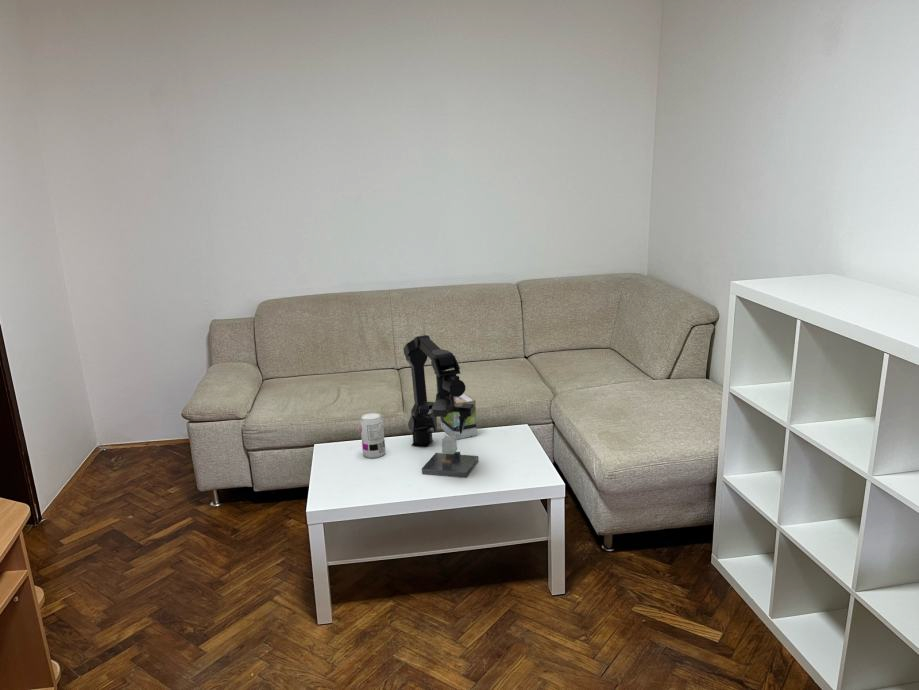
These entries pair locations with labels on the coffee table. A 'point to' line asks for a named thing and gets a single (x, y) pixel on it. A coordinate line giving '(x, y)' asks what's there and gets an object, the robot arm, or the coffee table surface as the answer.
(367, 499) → the coffee table surface
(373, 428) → the supplement can
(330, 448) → the coffee table surface
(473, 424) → the tea box
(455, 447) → the grey metal cube
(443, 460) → the stand
